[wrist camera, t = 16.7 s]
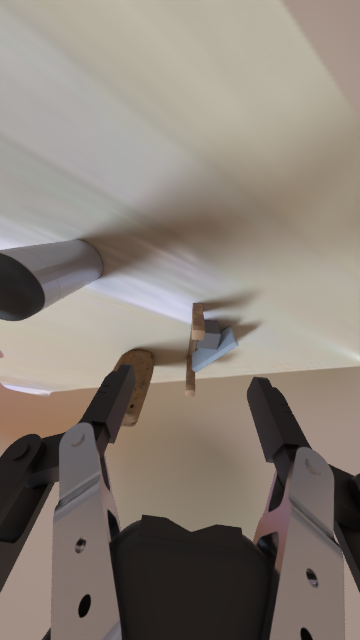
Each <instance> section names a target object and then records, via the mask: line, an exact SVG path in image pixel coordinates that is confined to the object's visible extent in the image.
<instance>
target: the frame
mask: <svg viewBox="0 0 360 640" xmlns="http://www.w3.org/2000/svg"><path fill="white" fill-rule="evenodd" d="M204 335H205V325H204V315H203V306H202V304H196V303H193V309H192V325H191V335H190V344H189V353H188V357H187V371H186V391H185V395H188V396H194V394H195V371H193V370H192V353H193V352H195V349H196V342H197V340H204Z"/></svg>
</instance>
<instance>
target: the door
mask: <svg viewBox="0 0 360 640" xmlns="http://www.w3.org/2000/svg"><path fill="white" fill-rule="evenodd" d="M237 346H238V342H237V339H236V337H235V334H234V331H233V329H232V328H230V327H228V328H226V329H225V330H224V331H222V332H221V336H220V340H219V344H218V348H217V350H214V349H204V348H199V349H197V350H196V351H195V352H193V353H192V370H193V371H195V372H198V371H199V370H201V369H202V368H204V367H205V366H207V365H208V364H210V363H212V362H213V361H215V360H216V359H218V358H219V357H221V356H223V355H224V354H226V353H227V352H229V351H230V350H232V349H233V348H235V347H237Z"/></svg>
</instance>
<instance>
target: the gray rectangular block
mask: <svg viewBox="0 0 360 640" xmlns="http://www.w3.org/2000/svg"><path fill="white" fill-rule="evenodd" d="M204 325H205V335H204V340H198V348H204V349H214V350H217V348H218V344H219V340H220V336H221V333H220V329H219V325H218V321H209V320H204Z"/></svg>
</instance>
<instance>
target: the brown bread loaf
mask: <svg viewBox="0 0 360 640" xmlns="http://www.w3.org/2000/svg"><path fill="white" fill-rule="evenodd" d="M121 364H132V365H134V371H135V378H136V383H135V387H134V390H133V393H132V396H131V399H130V401H129V404H128V407H127V410H126V412H125V415H124V418H123V421H122V423H121V426H126V427H131V426H134V425H135V424H136V423H137V420H138V418H139V415H140V412H141V409H142V406H143V403H144V400H145V397H146V394H147V390H148V388H149V384H150V381H151V378H152V374H153V368H154V358H153V357H152V355H151V353H149V352H146V351H142V350H137V351H134V350H133V351H129V352H127V353H125V354H123V355H122V356H121V357H120V359H119V360H118V362H117V364H116V366H115V368H114V369H113V371H117V370H118V369H119V367H120V365H121Z"/></svg>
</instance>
